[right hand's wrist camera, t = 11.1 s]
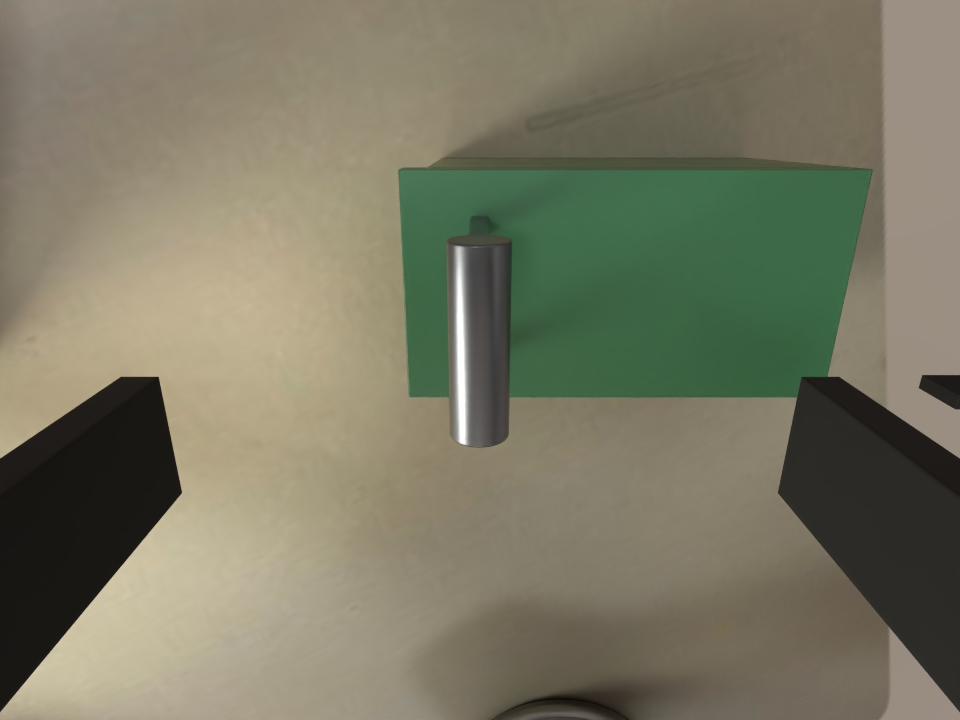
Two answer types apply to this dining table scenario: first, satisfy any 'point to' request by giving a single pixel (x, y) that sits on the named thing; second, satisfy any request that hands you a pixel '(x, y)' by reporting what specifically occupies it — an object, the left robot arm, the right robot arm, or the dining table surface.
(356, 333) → the dining table surface
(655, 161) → the chest
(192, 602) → the dining table surface
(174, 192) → the dining table surface
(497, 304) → the lid
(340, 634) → the dining table surface
